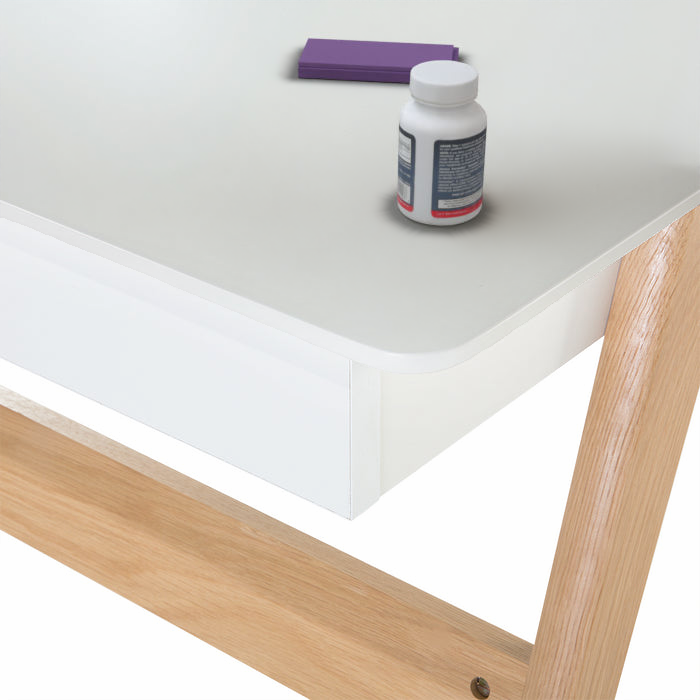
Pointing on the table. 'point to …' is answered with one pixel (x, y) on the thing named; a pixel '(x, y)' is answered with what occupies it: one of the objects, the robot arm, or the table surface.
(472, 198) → the pill bottle
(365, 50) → the purple box
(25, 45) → the table surface
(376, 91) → the table surface
